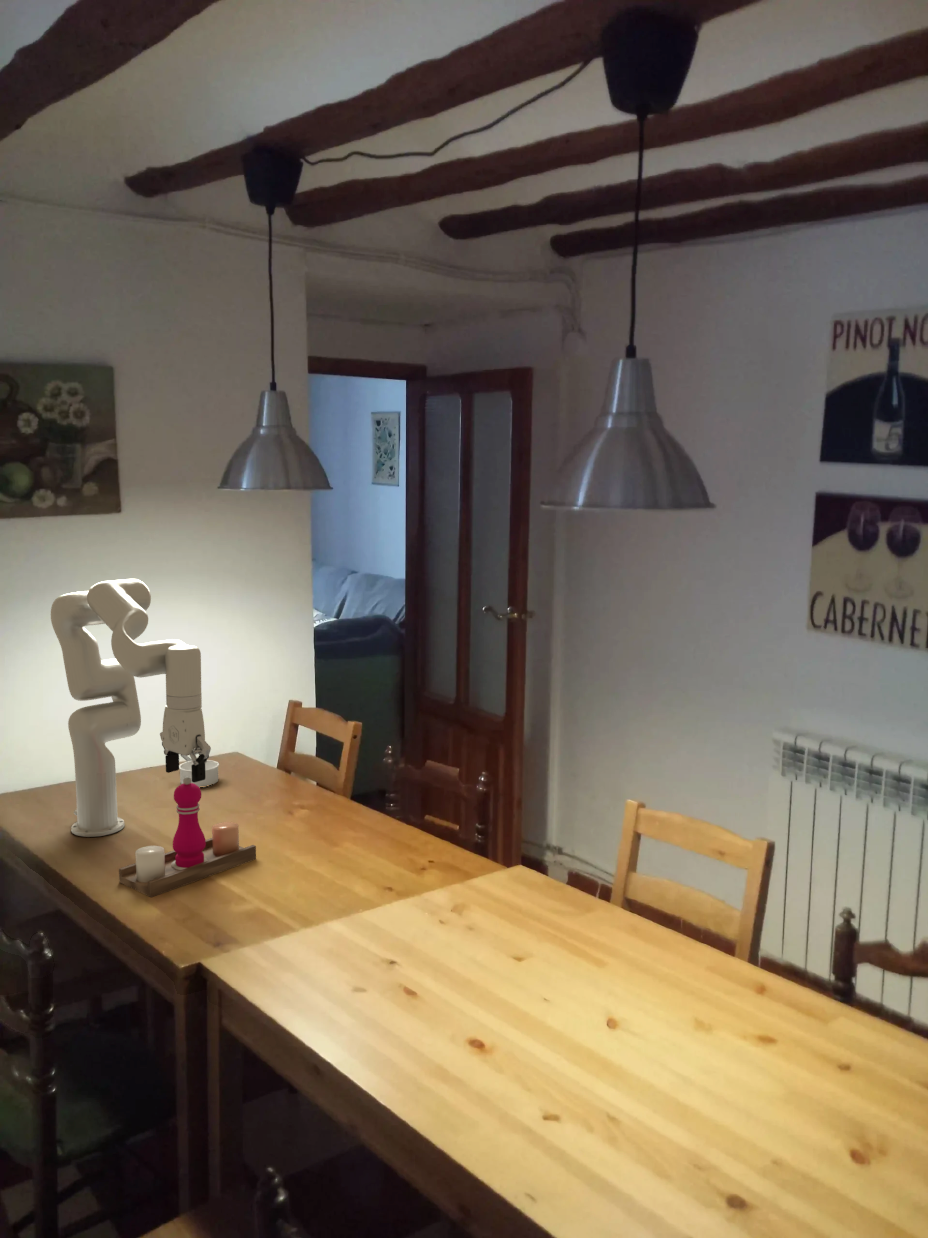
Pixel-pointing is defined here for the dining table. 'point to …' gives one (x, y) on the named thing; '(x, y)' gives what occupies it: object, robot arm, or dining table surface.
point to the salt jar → (150, 863)
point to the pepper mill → (188, 826)
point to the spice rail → (186, 870)
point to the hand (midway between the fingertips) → (185, 776)
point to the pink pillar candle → (225, 838)
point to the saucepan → (210, 772)
